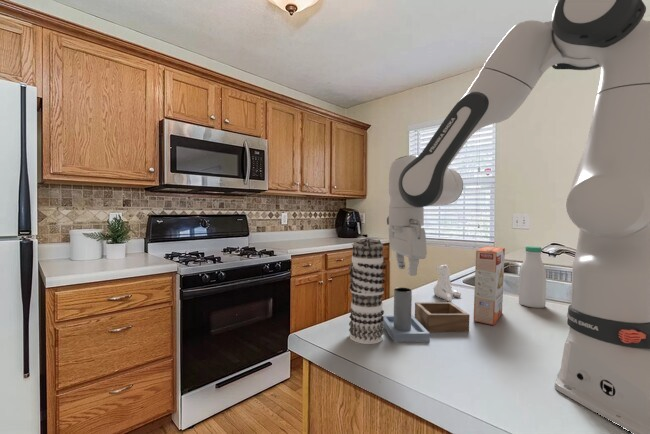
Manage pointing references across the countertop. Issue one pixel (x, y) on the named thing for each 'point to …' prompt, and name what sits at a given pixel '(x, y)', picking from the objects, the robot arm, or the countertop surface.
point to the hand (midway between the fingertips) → (406, 271)
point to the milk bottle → (532, 279)
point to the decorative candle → (367, 291)
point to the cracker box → (489, 284)
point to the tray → (413, 335)
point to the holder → (441, 317)
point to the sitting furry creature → (445, 285)
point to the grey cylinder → (402, 309)
